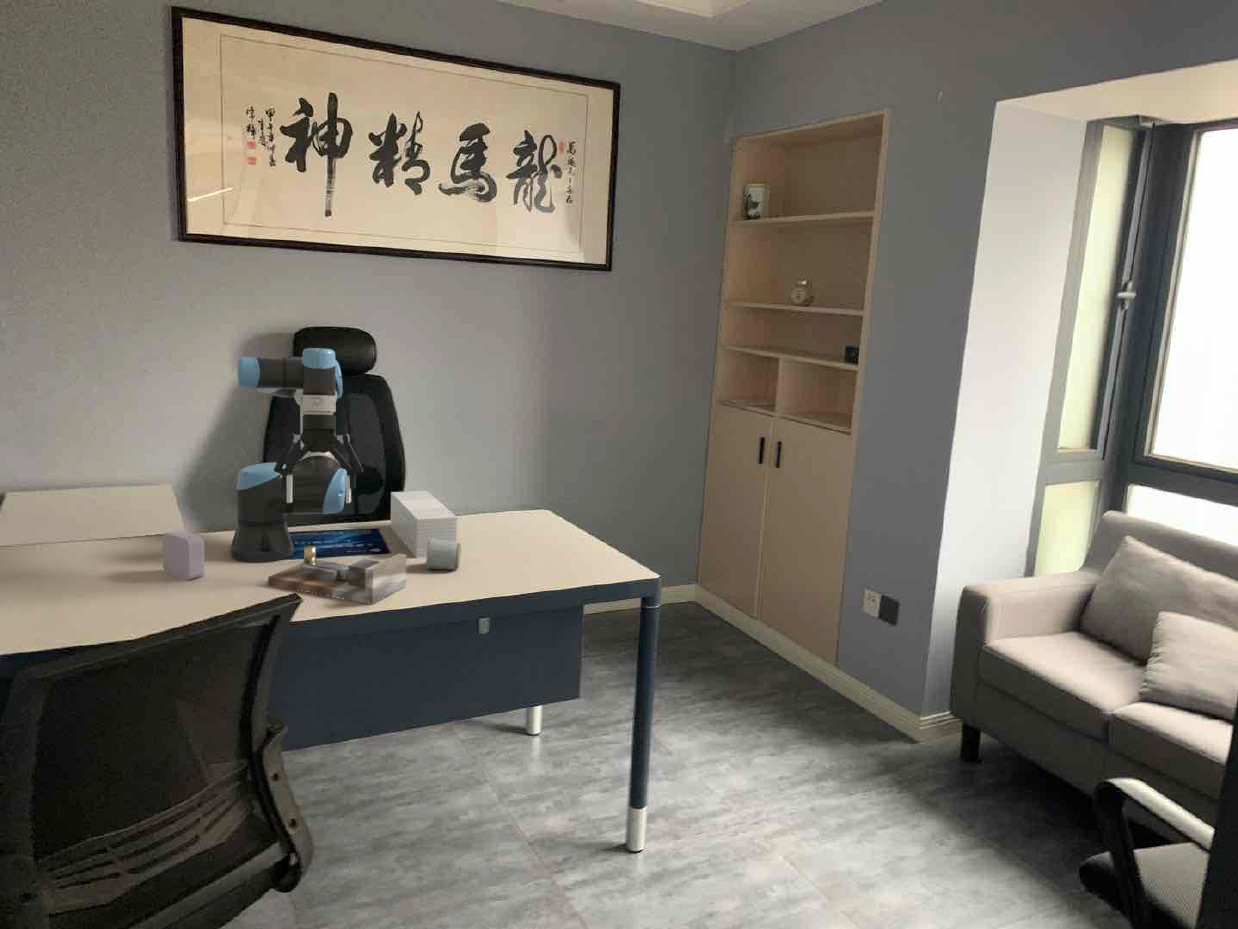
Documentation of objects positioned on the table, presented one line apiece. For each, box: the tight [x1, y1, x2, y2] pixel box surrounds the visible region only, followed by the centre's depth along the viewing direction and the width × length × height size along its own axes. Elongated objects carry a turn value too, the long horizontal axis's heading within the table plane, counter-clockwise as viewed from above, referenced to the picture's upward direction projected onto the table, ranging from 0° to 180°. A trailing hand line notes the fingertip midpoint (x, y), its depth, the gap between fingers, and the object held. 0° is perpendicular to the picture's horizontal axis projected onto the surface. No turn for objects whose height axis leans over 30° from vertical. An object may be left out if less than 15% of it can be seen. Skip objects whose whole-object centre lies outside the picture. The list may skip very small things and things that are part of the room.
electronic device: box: [161, 529, 206, 581], centre depth 215 cm, size 10×5×10 cm, turn 59°
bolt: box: [301, 545, 349, 580], centre depth 215 cm, size 12×3×6 cm, turn 72°
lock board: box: [267, 553, 407, 605], centre depth 214 cm, size 28×14×8 cm, turn 72°
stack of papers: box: [389, 490, 458, 559], centre depth 256 cm, size 32×11×11 cm, turn 26°
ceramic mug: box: [425, 539, 462, 571], centre depth 234 cm, size 11×8×8 cm
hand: (319, 502), depth 218 cm, fingers open, 13 cm apart
